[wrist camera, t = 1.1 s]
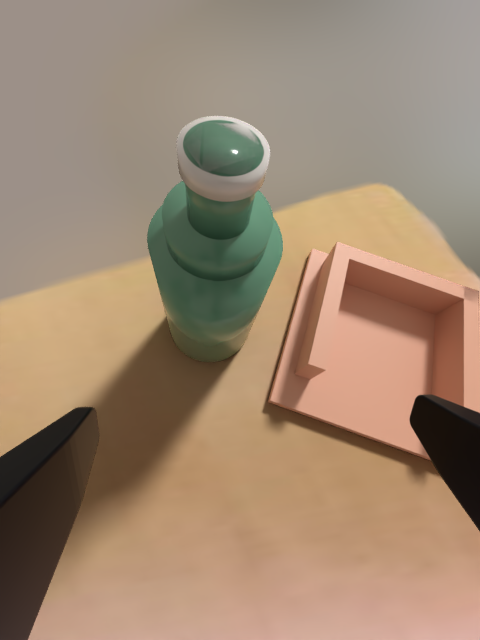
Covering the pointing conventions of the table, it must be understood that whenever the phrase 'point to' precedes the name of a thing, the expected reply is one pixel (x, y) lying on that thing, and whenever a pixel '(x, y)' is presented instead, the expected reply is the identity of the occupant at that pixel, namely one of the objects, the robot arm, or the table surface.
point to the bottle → (215, 238)
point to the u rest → (377, 345)
